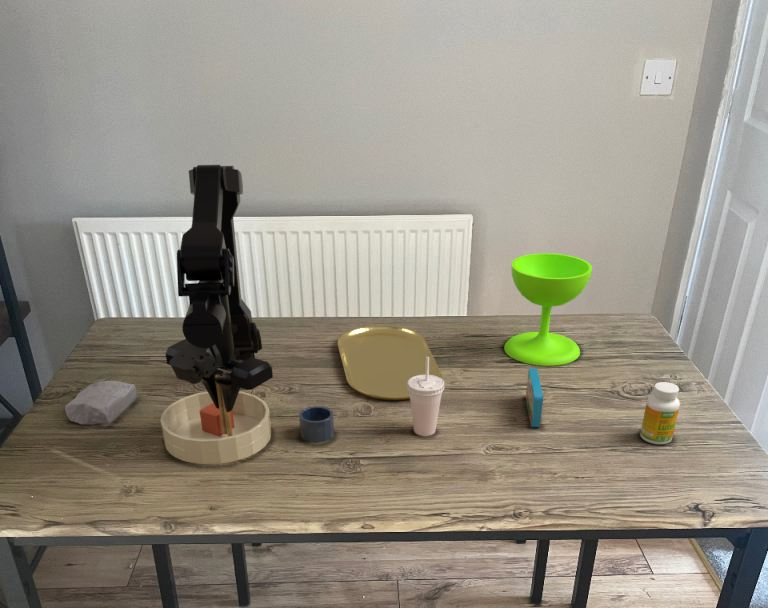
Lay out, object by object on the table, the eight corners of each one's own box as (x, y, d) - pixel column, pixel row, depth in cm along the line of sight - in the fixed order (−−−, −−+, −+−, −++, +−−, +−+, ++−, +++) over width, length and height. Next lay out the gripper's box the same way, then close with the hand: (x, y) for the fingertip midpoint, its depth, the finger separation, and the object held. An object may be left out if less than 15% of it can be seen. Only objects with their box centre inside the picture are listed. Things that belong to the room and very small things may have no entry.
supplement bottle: (655, 448, 137) (666, 397, 131) (633, 434, 141) (643, 384, 135) (678, 440, 139) (690, 389, 133) (656, 427, 143) (667, 377, 137)
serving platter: (416, 329, 180) (416, 322, 179) (450, 400, 152) (450, 392, 151) (333, 334, 178) (333, 327, 177) (352, 407, 149) (352, 400, 148)
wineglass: (500, 334, 177) (507, 252, 167) (573, 335, 177) (585, 253, 166) (507, 365, 164) (515, 278, 154) (586, 366, 164) (599, 279, 153)
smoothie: (446, 426, 143) (450, 353, 135) (437, 443, 138) (439, 369, 130) (412, 421, 145) (413, 348, 137) (401, 437, 140) (402, 363, 132)
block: (217, 421, 144) (215, 401, 142) (234, 427, 142) (232, 407, 140) (202, 430, 141) (199, 410, 139) (219, 436, 139) (216, 416, 137)
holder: (313, 425, 144) (312, 403, 141) (340, 434, 141) (340, 411, 139) (293, 439, 140) (292, 416, 137) (321, 448, 137) (319, 425, 135)
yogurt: (525, 397, 152) (528, 367, 149) (533, 397, 152) (537, 367, 149) (531, 428, 143) (534, 397, 139) (539, 428, 143) (543, 397, 139)
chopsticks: (224, 431, 140) (216, 373, 133) (234, 434, 139) (226, 376, 132) (220, 433, 139) (212, 375, 133) (230, 437, 138) (222, 378, 132)
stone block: (66, 431, 146) (113, 426, 143) (55, 407, 144) (103, 402, 141) (98, 403, 156) (143, 398, 153) (89, 380, 153) (134, 375, 150)
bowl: (215, 405, 150) (212, 381, 147) (292, 431, 142) (290, 406, 139) (143, 447, 138) (137, 422, 135) (222, 478, 130) (218, 451, 127)
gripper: (132, 326, 126) (150, 414, 135) (221, 353, 117) (233, 444, 126) (183, 304, 133) (196, 389, 142) (270, 327, 125) (278, 416, 134)
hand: (224, 409), depth 136 cm, fingers closed on chopsticks
